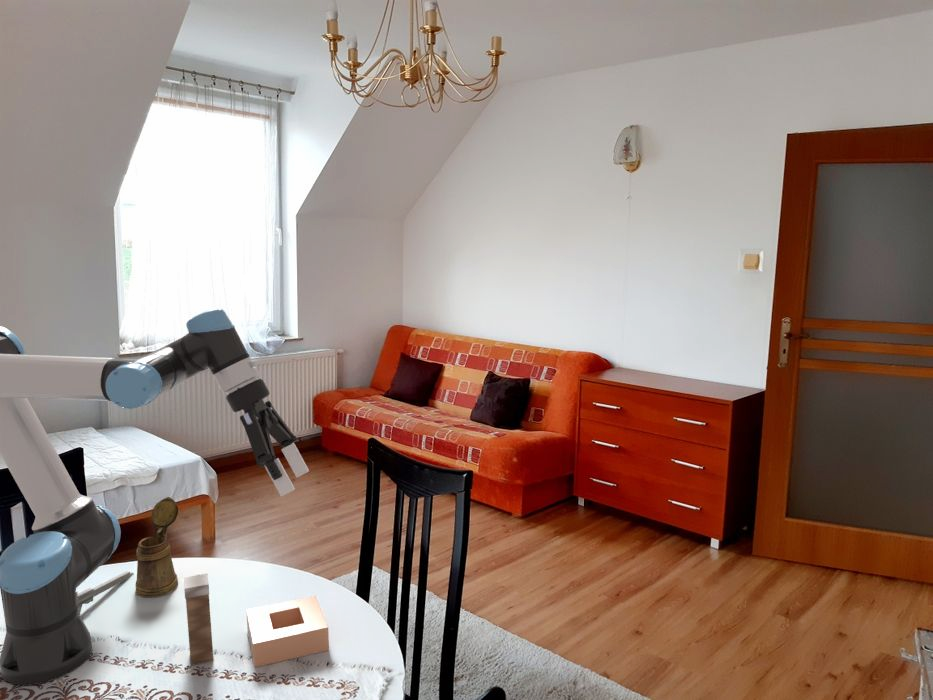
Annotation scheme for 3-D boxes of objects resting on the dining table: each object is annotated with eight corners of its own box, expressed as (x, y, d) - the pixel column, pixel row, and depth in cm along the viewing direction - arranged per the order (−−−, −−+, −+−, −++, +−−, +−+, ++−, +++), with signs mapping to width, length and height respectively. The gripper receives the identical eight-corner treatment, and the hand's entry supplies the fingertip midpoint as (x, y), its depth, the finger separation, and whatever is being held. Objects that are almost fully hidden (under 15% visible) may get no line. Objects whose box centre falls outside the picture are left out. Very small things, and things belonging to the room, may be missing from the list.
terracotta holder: (254, 667, 134) (253, 643, 133) (247, 631, 144) (246, 609, 143) (328, 650, 139) (328, 627, 138) (316, 617, 150) (316, 595, 149)
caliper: (71, 625, 146) (68, 597, 145) (66, 624, 147) (63, 597, 145) (134, 574, 166) (131, 550, 165) (129, 574, 166) (127, 549, 165)
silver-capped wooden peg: (190, 665, 134) (184, 588, 130) (189, 652, 138) (183, 577, 134) (214, 660, 135) (208, 584, 132) (212, 648, 139) (207, 573, 136)
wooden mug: (193, 567, 169) (188, 496, 165) (167, 599, 156) (160, 522, 152) (156, 566, 170) (150, 495, 166) (127, 597, 156) (120, 521, 152)
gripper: (241, 385, 123) (299, 492, 125) (275, 369, 148) (324, 459, 150) (203, 405, 123) (261, 511, 125) (243, 386, 148) (292, 475, 150)
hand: (296, 483), depth 137 cm, fingers open, 13 cm apart
